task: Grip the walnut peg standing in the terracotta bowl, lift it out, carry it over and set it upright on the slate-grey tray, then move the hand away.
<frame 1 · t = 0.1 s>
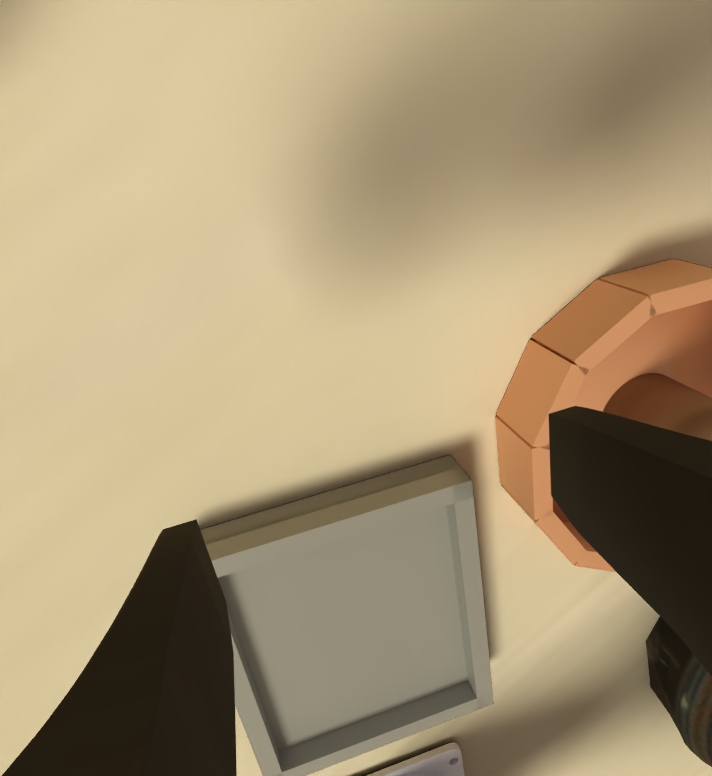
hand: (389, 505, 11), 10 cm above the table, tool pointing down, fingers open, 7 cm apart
terracotta bowl: (630, 410, 25), on the table
walnut peg: (639, 416, 25), point 1 cm above the table, touching terracotta bowl
slate tray: (350, 611, 26), on the table
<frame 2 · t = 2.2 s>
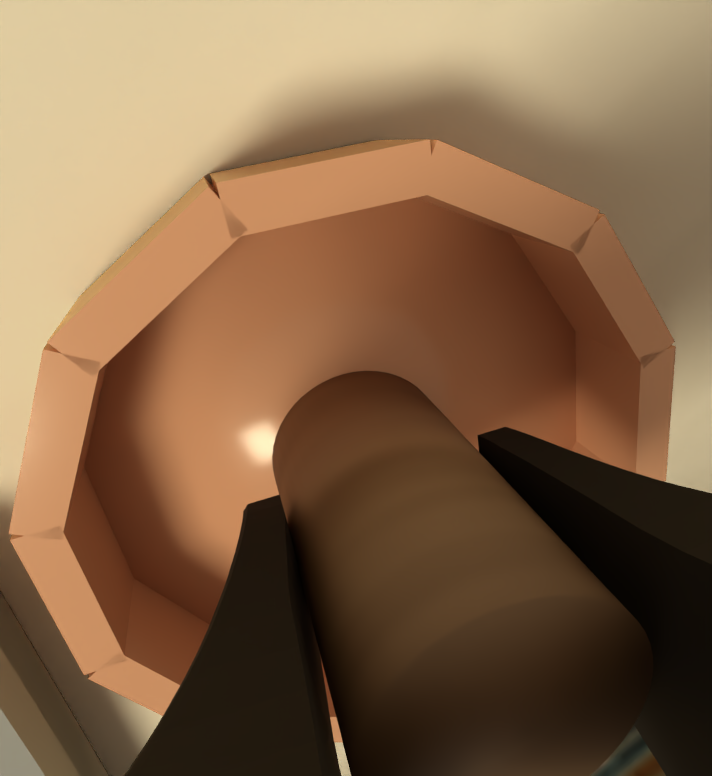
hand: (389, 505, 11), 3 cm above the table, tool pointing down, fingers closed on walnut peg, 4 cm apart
terracotta bowl: (352, 440, 14), on the table
beer stein: (686, 722, 23), on the table
walnut peg: (359, 452, 13), point 1 cm above the table, touching gripper, terracotta bowl
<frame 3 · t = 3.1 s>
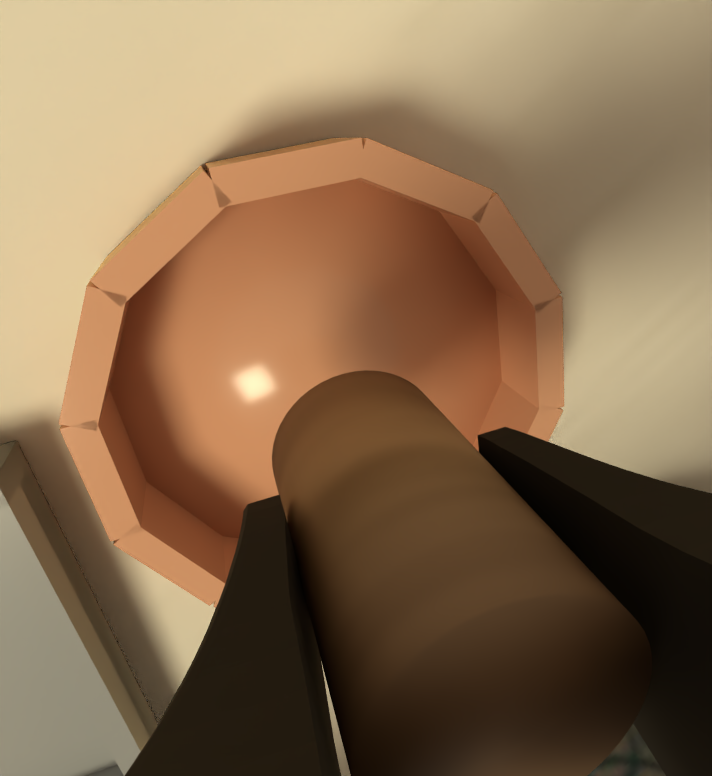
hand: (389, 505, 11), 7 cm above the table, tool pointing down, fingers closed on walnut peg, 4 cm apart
terracotta bowl: (319, 376, 17), on the table
beer stein: (619, 642, 27), on the table
walnut peg: (358, 451, 13), point 5 cm above the table, touching gripper
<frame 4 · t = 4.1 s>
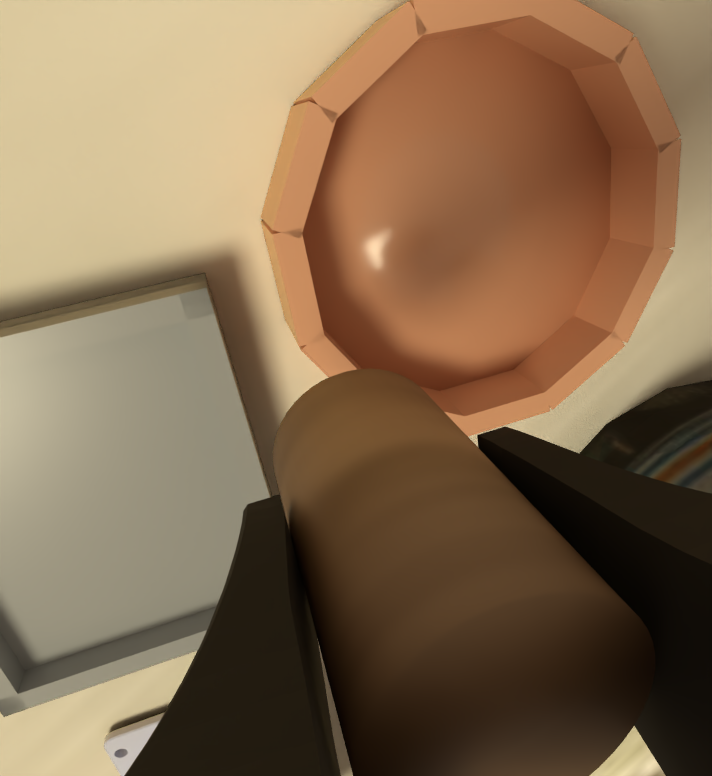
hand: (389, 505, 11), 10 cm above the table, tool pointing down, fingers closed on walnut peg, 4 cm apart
terracotta bowl: (455, 228, 20), on the table
beer stein: (689, 516, 29), on the table
walnut peg: (360, 450, 13), point 8 cm above the table, touching gripper
slate tray: (102, 490, 20), on the table
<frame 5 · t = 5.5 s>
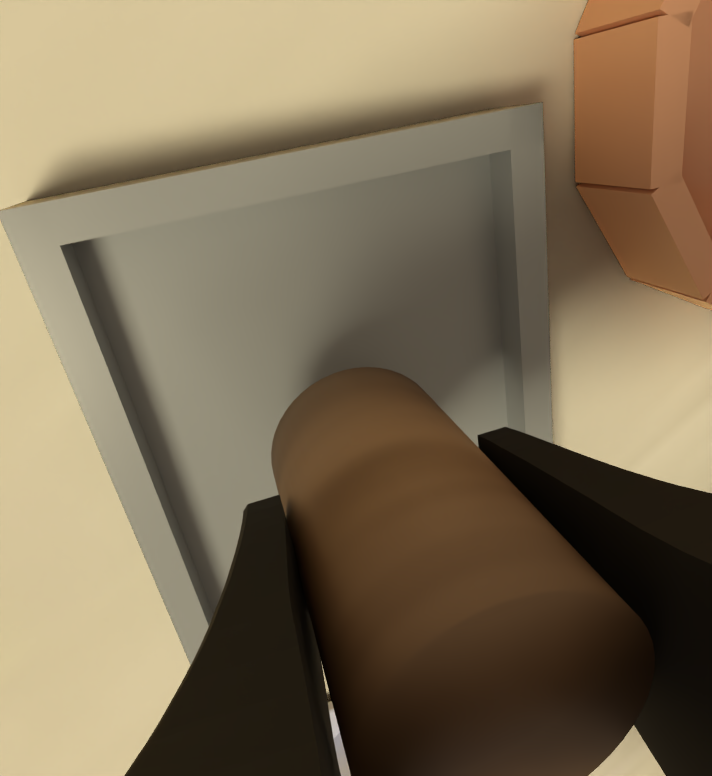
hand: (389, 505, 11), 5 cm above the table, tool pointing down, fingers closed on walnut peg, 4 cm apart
walnut peg: (358, 449, 13), point 3 cm above the table, touching gripper
slate tray: (331, 402, 16), on the table
when the fingers open (4 cm above the table, at t = 6.5 s): walnut peg drops 1 cm, resting on slate tray.
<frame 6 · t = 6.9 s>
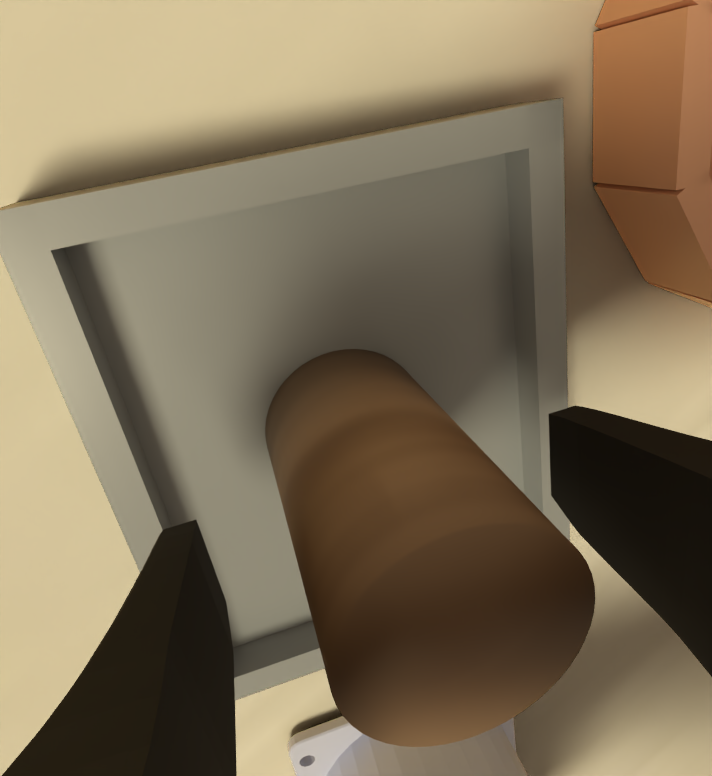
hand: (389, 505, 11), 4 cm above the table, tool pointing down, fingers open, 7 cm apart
walnut peg: (346, 425, 14), point 1 cm above the table, touching slate tray
slate tray: (337, 412, 15), on the table
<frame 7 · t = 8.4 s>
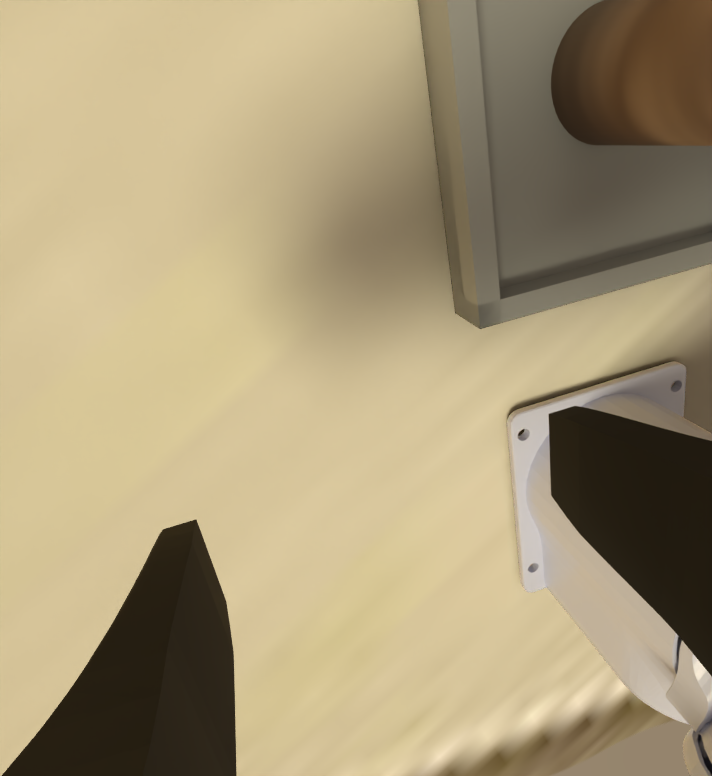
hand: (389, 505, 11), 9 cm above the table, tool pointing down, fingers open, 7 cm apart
walnut peg: (608, 75, 18), point 1 cm above the table, touching slate tray
slate tray: (588, 81, 19), on the table
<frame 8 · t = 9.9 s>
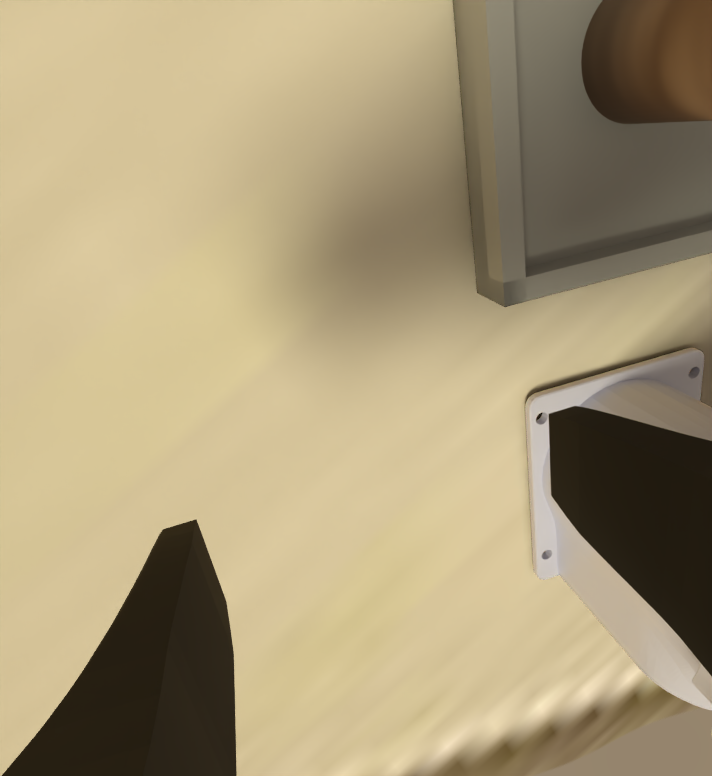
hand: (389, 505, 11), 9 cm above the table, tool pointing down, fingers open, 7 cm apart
walnut peg: (638, 52, 18), point 1 cm above the table, touching slate tray
slate tray: (617, 60, 19), on the table
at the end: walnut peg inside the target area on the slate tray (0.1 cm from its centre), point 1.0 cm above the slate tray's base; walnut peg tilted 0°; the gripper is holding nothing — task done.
